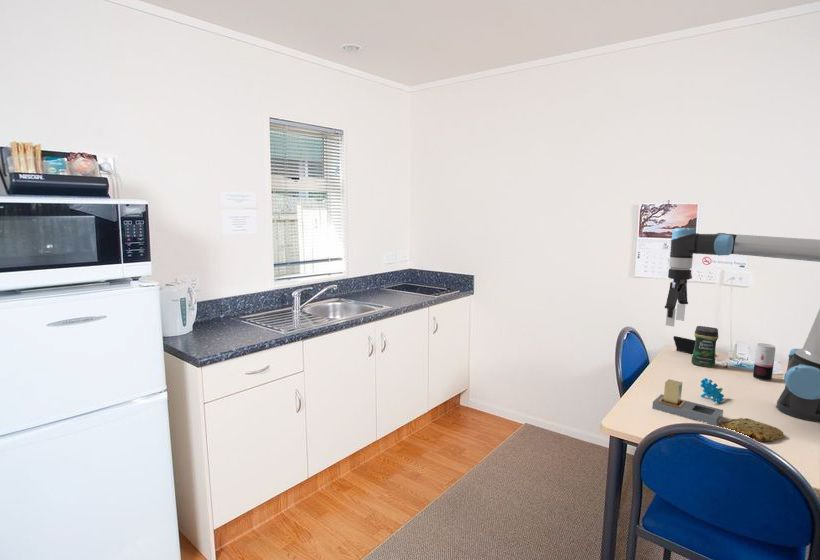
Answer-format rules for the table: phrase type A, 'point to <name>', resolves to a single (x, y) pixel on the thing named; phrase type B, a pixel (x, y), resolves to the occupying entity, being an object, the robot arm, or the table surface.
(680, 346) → the game console
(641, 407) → the table surface
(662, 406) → the grey block
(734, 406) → the table surface
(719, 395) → the blue irregular branched piece
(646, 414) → the table surface
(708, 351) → the coffee jar
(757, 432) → the pastry
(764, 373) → the beverage can
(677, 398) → the brass peg
